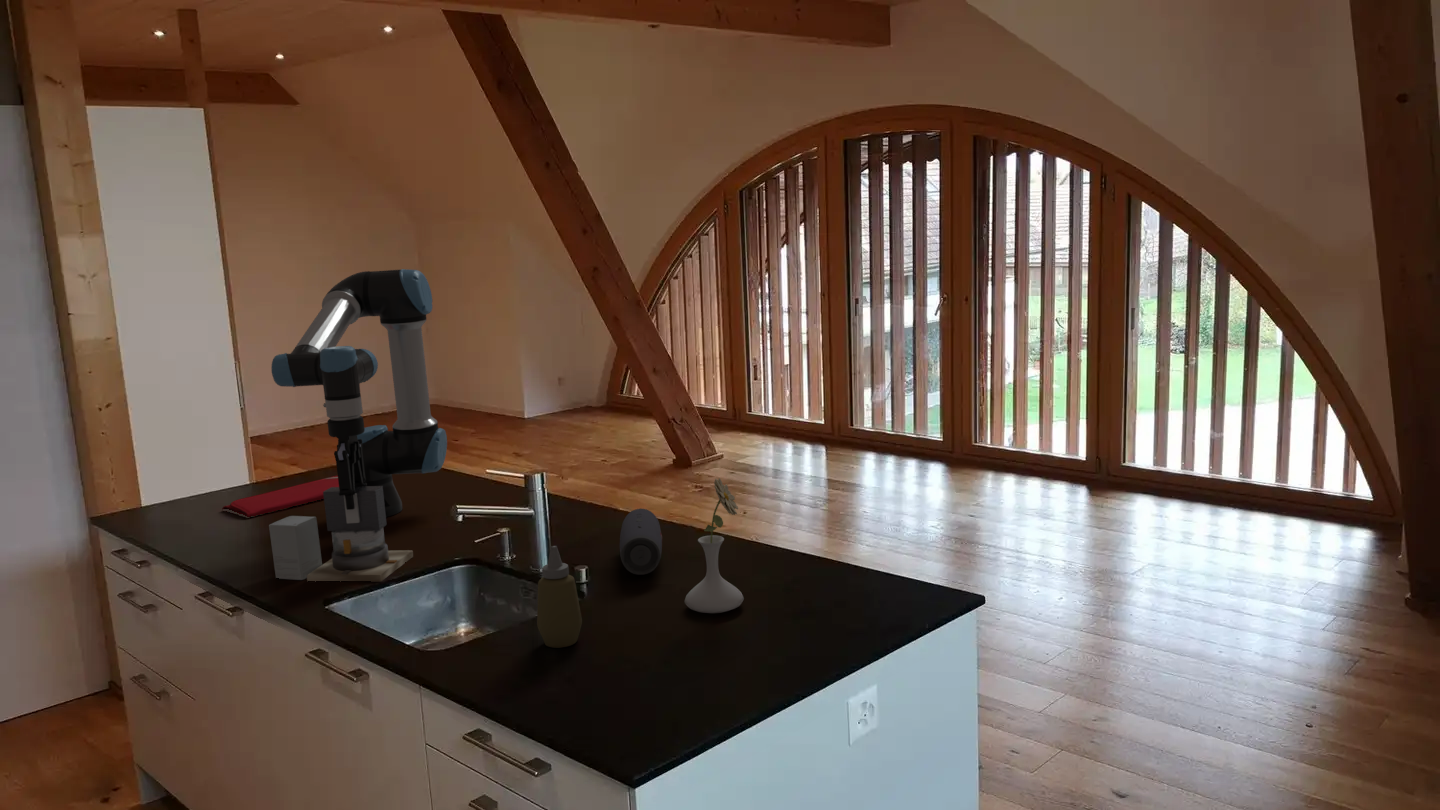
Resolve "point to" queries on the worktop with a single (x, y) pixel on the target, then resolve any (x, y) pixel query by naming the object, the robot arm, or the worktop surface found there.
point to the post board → (362, 574)
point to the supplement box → (295, 547)
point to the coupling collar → (356, 535)
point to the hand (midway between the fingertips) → (356, 519)
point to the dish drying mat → (283, 497)
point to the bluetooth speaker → (640, 542)
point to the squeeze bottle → (558, 604)
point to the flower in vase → (715, 566)
